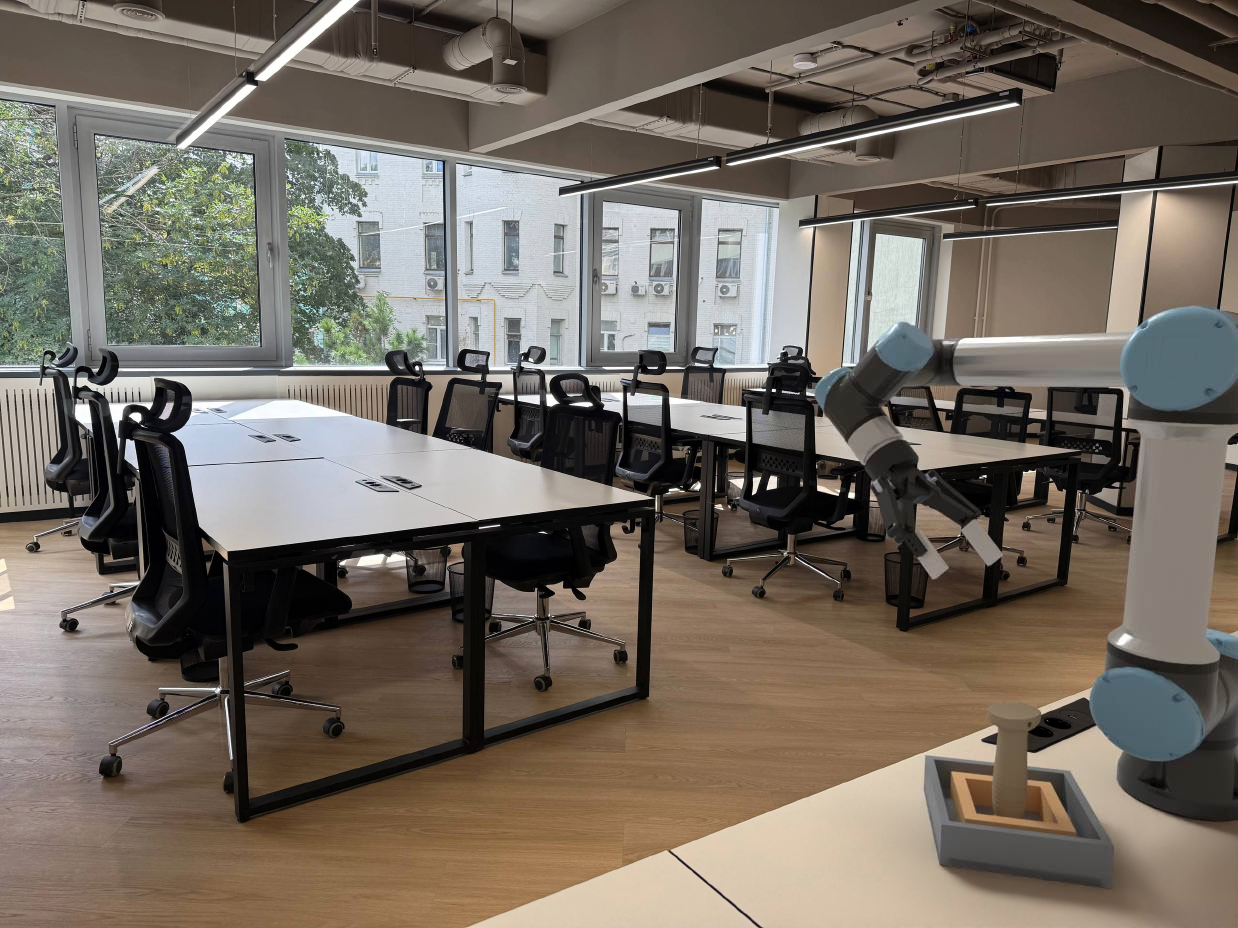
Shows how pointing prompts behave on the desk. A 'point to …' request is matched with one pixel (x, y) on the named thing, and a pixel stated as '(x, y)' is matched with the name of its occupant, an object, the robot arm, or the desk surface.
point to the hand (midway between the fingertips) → (969, 567)
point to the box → (1016, 825)
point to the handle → (1011, 756)
